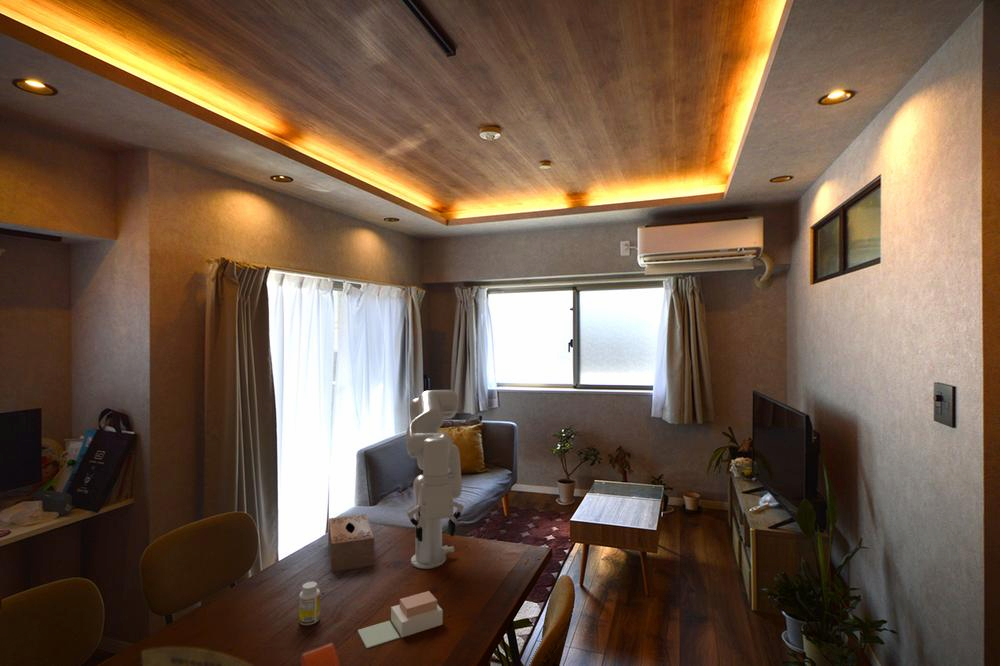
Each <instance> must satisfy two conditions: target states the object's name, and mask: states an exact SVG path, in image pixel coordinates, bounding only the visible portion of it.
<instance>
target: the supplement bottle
mask: <svg viewBox="0 0 1000 666" xmlns="http://www.w3.org/2000/svg"><path fill="white" fill-rule="evenodd" d="M301 587H302V588H301V591H300V592H299V597H298V600H299V603H298V604H299V606H298V607H299V611H298V614H299V617H298V618H299V620H298V621H299V623H300V624H301V625H303V626H311V625H314V624H317V623H318V622H319V620H320V618H321V591H320V589H319V588H318V583H317V581H308V582H305V583H304V584H302V586H301Z"/></svg>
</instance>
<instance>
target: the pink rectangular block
mask: <svg viewBox="0 0 1000 666" xmlns="http://www.w3.org/2000/svg"><path fill="white" fill-rule="evenodd" d="M437 604H438V599H437V598H436V597H435V595H433V594H432V593H431V592H430V590H427V591H423V592H420V593H416V594H413V595H410V596H405V597H402V598H399V605H400V609H401V610H402V612H403V613H404V614H405V616H406V617H407V618H408V617H411V616H414V615H418V614H421V613H424V612H428V611H431V610H434V609H437Z"/></svg>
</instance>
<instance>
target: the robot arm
mask: <svg viewBox="0 0 1000 666" xmlns="http://www.w3.org/2000/svg"><path fill="white" fill-rule="evenodd" d="M459 403H460V401H459V396H458V394H457V392H455V391H454V390H452V389H431V390H430V389H429V390H425V391H422V393H420V394H419V396H418V397H417V398H413V399H412V400H411V401H410V403H409V414H410V415H409V416H410V419H411V422H410V423H409V424H408V426H407V429H406V436H405V439H406V446H405V447H406V451H407V454H408V456H409V457H411V458H413V459H416V461H417V462H416V463H417V466H418V468H419V470H421V471H423V472H422V474H418V475H417V476H416V477H415V479H414V480H413V486H412V487H413V494H414V503H415V506H414V507H412V508H411V509H410V510H408V511H407V512H406V515H407V517H408V518H407V519H409V521H410V522H411V523H412V525H413V526H415V554H413V556H411V559H410V563H411V565H412V566H413V567H415V568H418V569H422V570H423V569H424V570H425V569H427V570H428V569H429V570H431V569H434V568H435V567H436V568H438V566H439V567H441V566H442V564H443V563H444V562H445V561H447V556H446V555H448V553H449V554H450V553H455V547H454V546H453V545H452V546H448V545H444V546H443V519H447V518H449V520H448V526H447V528H448V534H449V536H450V537H454V536H455V534H454V533H455V532H456V523H457V521H458V519H459V518H460V517H461V515H462V513H463V510H464V508H465V506H464V505H463V504H461V503H458V502H457V501H454V500H456V499H458V498H459V499H460V497H461V495H462V491H463V490H462V489H463V486H462V485H463V484H462V481H463V480H462V468H461V455H460V450H459V447H458V446H457V445H456V444H454V443H453V439H452V437H451V436H450V434H449V433H447V432H439V428H441V426H443V424H444V421H445V420H450V419H453V418H454V417H455V415H456V414H457V413H458V411H459V405H460V404H459ZM454 508H457V509H456V511H455V512H454ZM414 515H415V517H414ZM445 563H446V562H445ZM445 563H444V564H445ZM444 564H443V565H444ZM440 565H441V566H440ZM436 568H435V569H436Z"/></svg>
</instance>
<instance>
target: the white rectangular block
mask: <svg viewBox="0 0 1000 666" xmlns="http://www.w3.org/2000/svg"><path fill="white" fill-rule="evenodd" d="M443 616H444V615H443V609H442V608H441V606H440V605H439V604H438V603H437V609H434V610H431V611H428V612H424V613H421V614H418V615H414V616H411V617H408V618H407V617H406V616H405V614H404V613H403V612H402V610H401V609H400V604H397V605H394V606H390V622H391V624H392V625H393V627H394V629H395V630H396V632H397V633H398V635H399V636H400V638H404V637H408V636H411V635H414V634H417V633H420V632H423V631H426V630H429V629H433V628H436V627H440V626H441V625H443Z"/></svg>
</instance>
